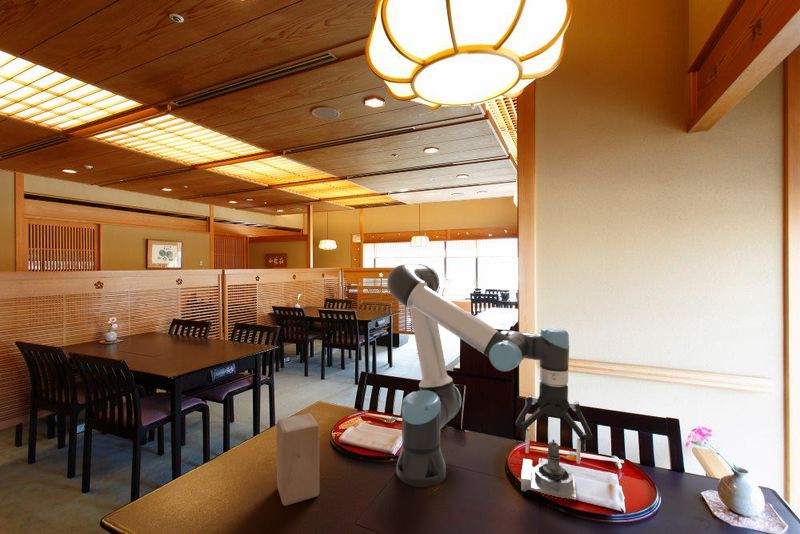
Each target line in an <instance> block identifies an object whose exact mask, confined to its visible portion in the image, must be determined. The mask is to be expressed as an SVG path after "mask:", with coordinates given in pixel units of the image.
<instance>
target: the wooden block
mask: <svg viewBox="0 0 800 534" xmlns="http://www.w3.org/2000/svg"><path fill="white" fill-rule="evenodd" d="M276 486H277V490H278V494H279V497H280V501H281V504H282V506H290V505H293V504H297V503H299V502H303V501H306V500H309V499H313V498H316V497H318V496H319V494H320V425H319V423H318V422H317V421H316V419H315V418H314V416H313V414H312V413H304V414H298V415H292V416H288V417H287V416H286V417H283V418H279V419H277V421H276Z"/></svg>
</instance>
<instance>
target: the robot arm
mask: <svg viewBox="0 0 800 534" xmlns="http://www.w3.org/2000/svg"><path fill="white" fill-rule="evenodd" d="M439 286H440V278H439V275H438V273H437V272H436V270H435V269H434V268H432V267H431V266H429V265H425V264H422V263H419V264H400V265H397V266H396V267H394V268H393V269H392V270H391V271H390V273H389V274H388V277H387V288H388V291H389V293H390V295H391V296H392V297H393V298H394V299H396V300H397V302H400V304H402V305H404V306H405V307H406V308H407V309H408V310H409V311H410V316H411V321H412V328H413V333H414V338H415V344H416V350H417V356H418V361H419V366H420V372H421V380H420V382H419V383H418V386H419V390H417V391H411V392H410V393H408V394H407V395H406V396H405V397H404V398H403V400H402V407H401V429H402V430H401V434H402V435H401V441H402V443H401V444H402V445H401V449H400V453H399V456H398V459H397V462H396V476H397V478H398V479H399V480H400V481H401V482H402V483H404V484H406V485H408V486H411V487H414V488H415V487H416V488H429V487H434V486H436V485H439V484H440V483H442V482H444V480H445V479H446V477H447V466H446V465H447V464H446V462H445V459H444V456H443V453H442V450H441V430H442V428H443V427H444V426H446V424H448V423H449V422H450V421H451V420H452V419H454V418H455V417H456V415H457V414H458V412H459V411H460V408H461V406H462V395H461V393H460V390H459V389H458V387H456V386H455V384H454V381H453V378H452V377H451V376H450V375H448V372H447V366H446V362H445V361H446V360H445V356H444V351H443V346H442V339H441V335H440V334H441V333H440V330H439V325H440V326H441V327H443V328H444V329H446V330H447V331H449V332H450V333H451V334H452V335H455V336H456V337H458V338H459V339H461V340H462V341H464V342H465V343H466V344H468V345H470V346H471V347H473V348H474V349H476V351H478V352H481V353H482V354H483V355H484V356H486V357H488V358H489V361H490V364H491V365H492V366H493V367H494V368H495V369H496V370H498V371H500V372H510V371H512V370H514V369H515V368H517V367H518V366H520V365H521V363H522V361H523V360H525V359H529V360H535V361H539V380H540V381H539V393H538V394H539V395H538V397H536V396H533V395H532V394H529V395H528V397H527V401H526V404H525V405H524V407H523V409H522V410H521V411H520V413H519V415H518V416H517V417H516V418H517V419H516V421H515V426H516V427H517V428H518V427H519V428H520V429H521V440H522V441H525V453H526V454H529V449H530V447H529V446H530V443H529V442H530V437H529V436H530V426H532V424H534V422H535V421H537V420H538V419H539V418H540V417H542V416H543V415H544V414H546V415H547V416H554V417H557V418H560V417H562V418H563V419H564V420H565V421H566V422H567V424H568V425H569V426H570V428H572V431H574V432H575V434H576V435H577V436H576V456H575V457H576V458H575V459H576V464H579V465H581V452H585V450H586V441H587V440H593V438H594V437H593V434H592V433H593V432H592V431H591V429H590V427H589V425H588V423H587V421H586V419H585V417H584V415H583V413H582V411H581V405H580V402H579V401H574V402H570V401H569V386H568V384H569V364H570V363H569V361H570V340H569V339H570V337H569V332H568V331H567V330H565V329H562V328H558V327H543V328H541V329H540V332H539V333H529V332H521V331H514V330H501V331H498V330H497V329H496V328H494V327H493V326H491V325H489V324H487V323H486V322H485V321H482V320H481V319H480V318H478V317H476V315H473V314H472V313H470V312H469V311H466V310H465V309H463V308H462V307H460V306H459V305H457V304H455V303H454V302H452V300H449V299H448V298H445V297H444V296H442V295H441V294H439V293H438V292H437V291H438V289H439ZM536 403H537V404H538V406H539V407H538V408H537V409H536V410H535V411H534V412H533V413H532V414H531V415H530V416H528V417H527V418H526V416H527V414H528V412H530V409H531V407H532V405H535V404H536ZM569 408H571V409H572V411H574V412H575V413H576V416H577V418H578V421H579V422H580V425H581V427H582V428H583V430H582V429H581V428H580V427H579V425H578V424H577V423H576V421H575V420H574V419H573V418H572V417H571V415H570V414H569V413H568V410H569ZM525 418H526V419H525ZM524 419H525V420H524ZM583 431H584V432H583Z"/></svg>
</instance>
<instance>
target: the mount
mask: <svg viewBox="0 0 800 534" xmlns="http://www.w3.org/2000/svg"><path fill="white" fill-rule="evenodd" d="M522 461H523V462H522V469H521V477H520V487H521V488H520V489H521V490H520V491H522V492H526V491H527V490H535V491H538V492H541V493H544V494H548V495H552V496H556V497H561V498H567V499H569V498H570V497H571V498H576V499H577V494H576V493H577V492H576V485H575V484H576V483H575V477H574V476H575V475H574V474H573V472H571V471H570V470H569V469H568V468H567V467H565V466H563V465H560V466H561V467H562V468H564V470H565V473H564V475H563V477H562V478H561V479H562V480H563V481H555V480H550V479H548V478H546V477H545V476H546V475H545V473H544V469H543V465H544V464H546V463H547V462H540V463H538V464H537V465H535V466H533V460H532V459H527V458H523V460H522Z"/></svg>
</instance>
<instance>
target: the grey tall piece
mask: <svg viewBox="0 0 800 534" xmlns="http://www.w3.org/2000/svg"><path fill="white" fill-rule="evenodd" d="M546 456H547V462H545V463H546V464H544V465H543V469H544V473H545V475H546V476H545V477H546V478H548V479H550V480H555V481H563V480H562V479H561V478H562V477H563V475H564V473H565V470H564V468H562V467H561V466H562V465H560V459H561V455H560V445H559V444H558V443H557V442H556V440H555V439H552V441H550V442H549V443H548V444H547V453H546Z"/></svg>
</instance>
